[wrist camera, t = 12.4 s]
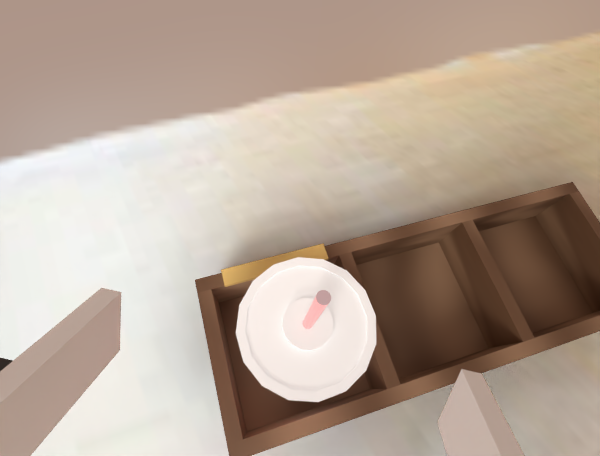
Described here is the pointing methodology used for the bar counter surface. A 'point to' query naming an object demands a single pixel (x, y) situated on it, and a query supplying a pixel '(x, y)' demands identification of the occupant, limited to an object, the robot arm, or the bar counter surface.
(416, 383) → the brown wooden compartment tray
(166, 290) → the bar counter surface
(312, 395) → the beverage cup
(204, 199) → the bar counter surface
